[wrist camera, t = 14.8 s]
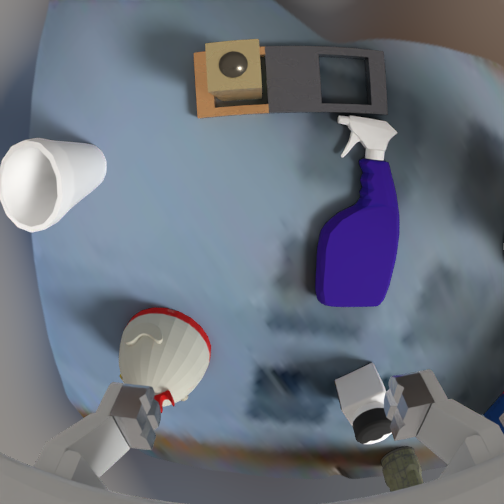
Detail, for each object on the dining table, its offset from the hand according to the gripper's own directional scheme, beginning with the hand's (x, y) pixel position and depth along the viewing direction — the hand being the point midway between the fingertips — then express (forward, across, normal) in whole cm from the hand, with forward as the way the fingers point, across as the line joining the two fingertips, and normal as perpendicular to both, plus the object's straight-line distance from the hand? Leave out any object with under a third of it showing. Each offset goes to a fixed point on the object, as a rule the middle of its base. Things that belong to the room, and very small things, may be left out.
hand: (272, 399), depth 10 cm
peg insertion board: (+31, -4, -14) cm, 34 cm away
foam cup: (+31, +23, -6) cm, 39 cm away
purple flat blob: (+32, -12, +3) cm, 34 cm away
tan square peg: (+31, +2, -14) cm, 34 cm away
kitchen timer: (+31, +16, +22) cm, 42 cm away
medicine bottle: (+31, -15, +32) cm, 47 cm away
